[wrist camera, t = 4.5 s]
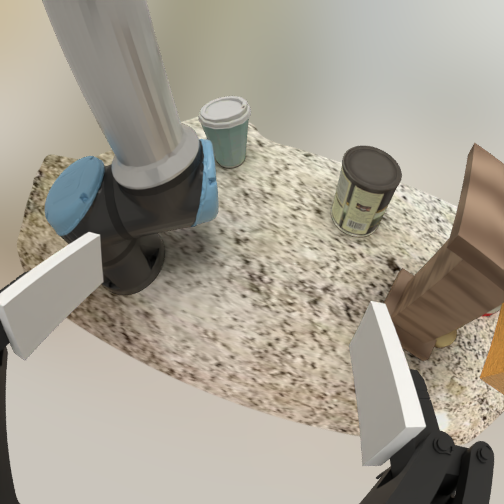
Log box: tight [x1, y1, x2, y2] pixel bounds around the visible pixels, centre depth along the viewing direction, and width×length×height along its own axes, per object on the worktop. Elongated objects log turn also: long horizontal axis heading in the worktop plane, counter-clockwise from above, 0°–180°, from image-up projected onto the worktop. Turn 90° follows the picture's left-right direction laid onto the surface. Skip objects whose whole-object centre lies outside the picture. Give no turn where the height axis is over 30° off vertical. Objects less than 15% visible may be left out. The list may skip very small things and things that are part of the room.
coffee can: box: [331, 146, 402, 237], centre depth 48 cm, size 10×10×14 cm
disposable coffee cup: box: [198, 96, 251, 168], centre depth 57 cm, size 11×11×15 cm
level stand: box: [383, 143, 504, 361], centre depth 30 cm, size 15×17×30 cm
